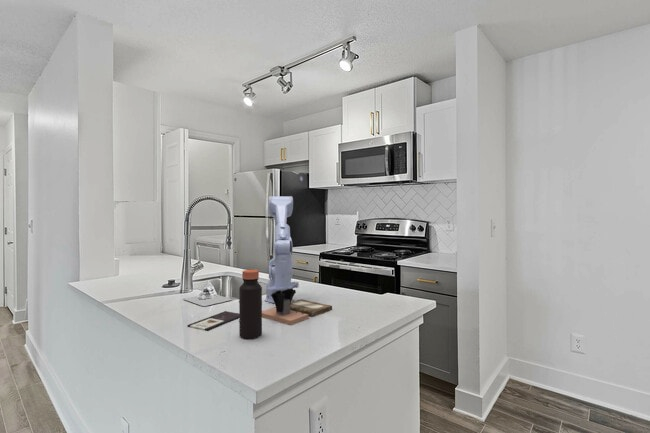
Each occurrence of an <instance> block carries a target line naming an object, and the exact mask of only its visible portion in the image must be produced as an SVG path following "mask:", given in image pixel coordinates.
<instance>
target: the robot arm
mask: <svg viewBox="0 0 650 433" xmlns="http://www.w3.org/2000/svg"><path fill="white" fill-rule="evenodd" d="M293 210H294V198H293V196H292V195H289V196H288V195H287V196H284V195H283V196H279V195H278V196H275V195H274V196H272V195H270V196H268V214H269V216H270V217H272V218H273V219H274V224H275V225H274V241H273V256H274V257H273V258H271V259H270V260H269V261H268V279H269V280H267V283H266V287H265V291H266V292H265V294H266V298H265V299H264V301H265V302H268V303H273V304H274V305H275V306H274V307H276V310H277V312H280V313H281V312H282V311H283V300H284V298H286V299H290V304H291V302H293V301H295V300H294V299H293V298H294V296H295V294H296V289H298V288H299V286H300V285H299V282H298V281H292V279H293V277H294V276H293V275H294V274H293V272H294V271H293V261H292V256H293V250H294V249H293V240H292V237H291V226H290V225H289V224H287V222H288V221H287V218H289V217H291V216H292V214H293Z"/></svg>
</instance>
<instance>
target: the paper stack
mask: <svg viewBox="0 0 650 433" xmlns="http://www.w3.org/2000/svg"><path fill="white" fill-rule="evenodd" d="M216 295H217V297H215V298H213V299H206V300H199V299H198V296H199V295H196V296H192V297H191V296H190V297H186V298H183V300H184V301H187V302H190V303H193V304H196V305H198V306H201V307H206V306H210V305H216V304H221V303H224V302H229V301H233V300H234V299H233V298H230V297H226V296H223V295H220V294H216Z"/></svg>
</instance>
